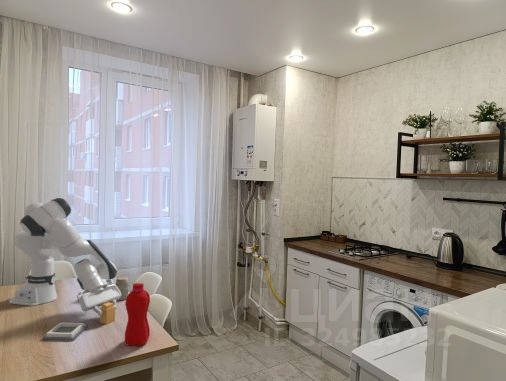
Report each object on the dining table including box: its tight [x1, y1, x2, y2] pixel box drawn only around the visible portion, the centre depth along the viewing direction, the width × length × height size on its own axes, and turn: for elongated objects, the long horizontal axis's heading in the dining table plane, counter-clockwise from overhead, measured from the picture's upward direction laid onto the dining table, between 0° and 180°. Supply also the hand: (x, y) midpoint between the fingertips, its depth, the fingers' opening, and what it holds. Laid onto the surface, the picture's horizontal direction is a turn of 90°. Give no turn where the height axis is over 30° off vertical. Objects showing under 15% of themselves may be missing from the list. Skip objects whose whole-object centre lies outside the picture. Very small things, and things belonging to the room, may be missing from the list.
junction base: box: [41, 321, 88, 342], centre depth 151 cm, size 13×13×2 cm
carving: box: [114, 276, 130, 301], centre depth 194 cm, size 6×8×12 cm
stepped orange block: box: [99, 302, 116, 325], centre depth 164 cm, size 5×5×9 cm
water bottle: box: [124, 282, 151, 347], centre depth 146 cm, size 9×11×25 cm
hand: (108, 311), depth 164 cm, fingers open, 6 cm apart
